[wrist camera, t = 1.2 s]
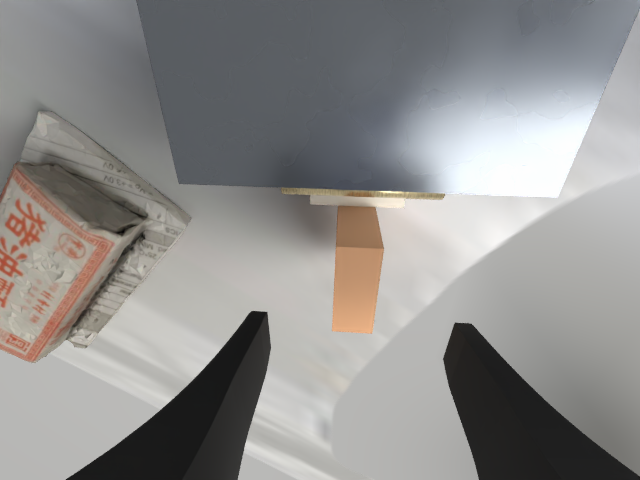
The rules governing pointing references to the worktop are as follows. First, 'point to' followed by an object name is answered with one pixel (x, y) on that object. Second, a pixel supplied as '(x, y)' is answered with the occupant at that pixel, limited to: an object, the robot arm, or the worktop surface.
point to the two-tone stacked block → (356, 259)
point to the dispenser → (382, 92)
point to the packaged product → (74, 239)
